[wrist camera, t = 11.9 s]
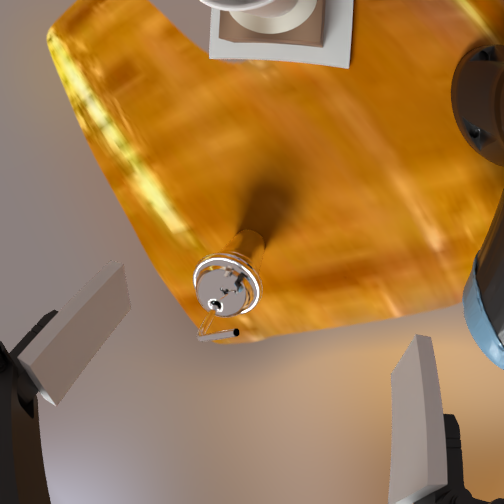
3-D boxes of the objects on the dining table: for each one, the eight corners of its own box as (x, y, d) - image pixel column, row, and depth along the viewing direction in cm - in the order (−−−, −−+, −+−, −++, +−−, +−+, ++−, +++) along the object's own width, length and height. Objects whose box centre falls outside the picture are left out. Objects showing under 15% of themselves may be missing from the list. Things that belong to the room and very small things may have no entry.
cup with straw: (216, 216, 45) (142, 307, 28) (279, 215, 42) (233, 317, 26) (226, 268, 49) (168, 367, 32) (285, 270, 46) (248, 380, 30)
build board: (354, -35, 23) (354, -39, 22) (348, 68, 30) (348, 68, 29) (219, -38, 26) (215, -42, 25) (213, 59, 33) (209, 58, 32)
